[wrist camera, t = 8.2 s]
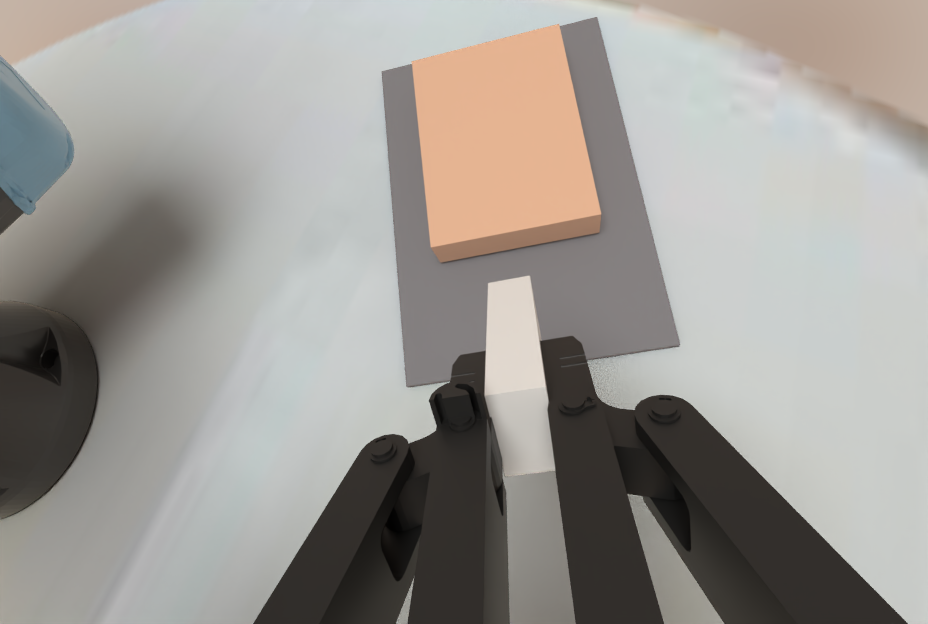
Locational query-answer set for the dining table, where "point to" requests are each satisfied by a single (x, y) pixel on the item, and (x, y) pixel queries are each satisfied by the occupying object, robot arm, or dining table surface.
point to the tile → (503, 147)
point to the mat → (548, 264)
